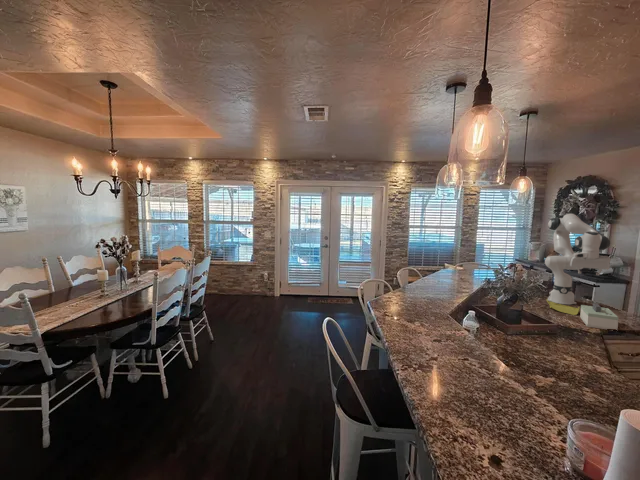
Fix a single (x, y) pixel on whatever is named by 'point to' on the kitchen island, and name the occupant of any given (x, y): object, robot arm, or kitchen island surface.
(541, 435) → the kitchen island surface
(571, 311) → the plastic component
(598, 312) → the green lid
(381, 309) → the kitchen island surface
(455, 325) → the kitchen island surface
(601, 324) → the white open box
